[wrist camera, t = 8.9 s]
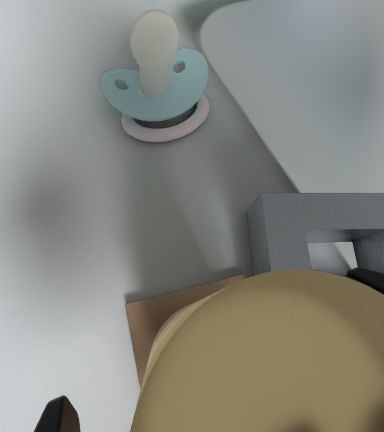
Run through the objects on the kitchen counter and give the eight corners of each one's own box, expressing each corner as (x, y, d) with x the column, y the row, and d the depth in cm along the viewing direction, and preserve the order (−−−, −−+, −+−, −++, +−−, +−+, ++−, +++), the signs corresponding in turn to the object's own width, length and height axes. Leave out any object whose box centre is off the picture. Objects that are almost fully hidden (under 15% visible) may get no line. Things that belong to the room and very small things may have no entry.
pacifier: (224, 126, 22) (188, 62, 23) (250, 57, 16) (200, -23, 17) (129, 161, 20) (96, 90, 22) (118, 99, 14) (74, 7, 16)
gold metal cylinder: (266, 368, 16) (577, 510, 4) (186, 436, 15) (306, 936, 3) (211, 286, 17) (329, 211, 5) (131, 342, 16) (49, 413, 4)
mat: (280, 402, 16) (284, 405, 16) (152, 446, 15) (152, 451, 15) (242, 274, 18) (244, 273, 18) (126, 304, 17) (124, 304, 17)
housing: (411, 354, 18) (459, 361, 15) (263, 364, 17) (284, 373, 14) (375, 210, 21) (409, 193, 18) (246, 211, 20) (261, 193, 17)
